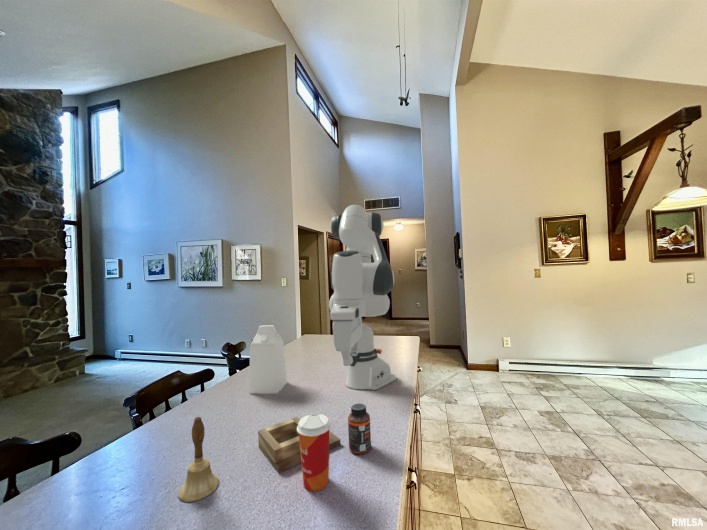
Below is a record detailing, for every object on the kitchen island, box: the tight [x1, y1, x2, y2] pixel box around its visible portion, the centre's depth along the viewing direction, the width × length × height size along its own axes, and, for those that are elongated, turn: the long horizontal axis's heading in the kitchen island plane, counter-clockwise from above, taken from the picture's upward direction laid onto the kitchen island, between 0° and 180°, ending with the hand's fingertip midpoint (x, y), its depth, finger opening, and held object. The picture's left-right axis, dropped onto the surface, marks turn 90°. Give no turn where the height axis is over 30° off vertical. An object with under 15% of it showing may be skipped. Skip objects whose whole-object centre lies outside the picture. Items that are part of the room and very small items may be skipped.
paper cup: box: [297, 413, 332, 493], centre depth 69 cm, size 8×8×14 cm
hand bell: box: [177, 416, 220, 503], centre depth 68 cm, size 8×8×16 cm
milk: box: [248, 324, 288, 394], centre depth 127 cm, size 12×12×26 cm
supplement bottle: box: [347, 403, 372, 455], centre depth 81 cm, size 6×6×11 cm
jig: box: [257, 416, 341, 474], centre depth 83 cm, size 18×14×4 cm
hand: (351, 360), depth 82 cm, fingers open, 8 cm apart
